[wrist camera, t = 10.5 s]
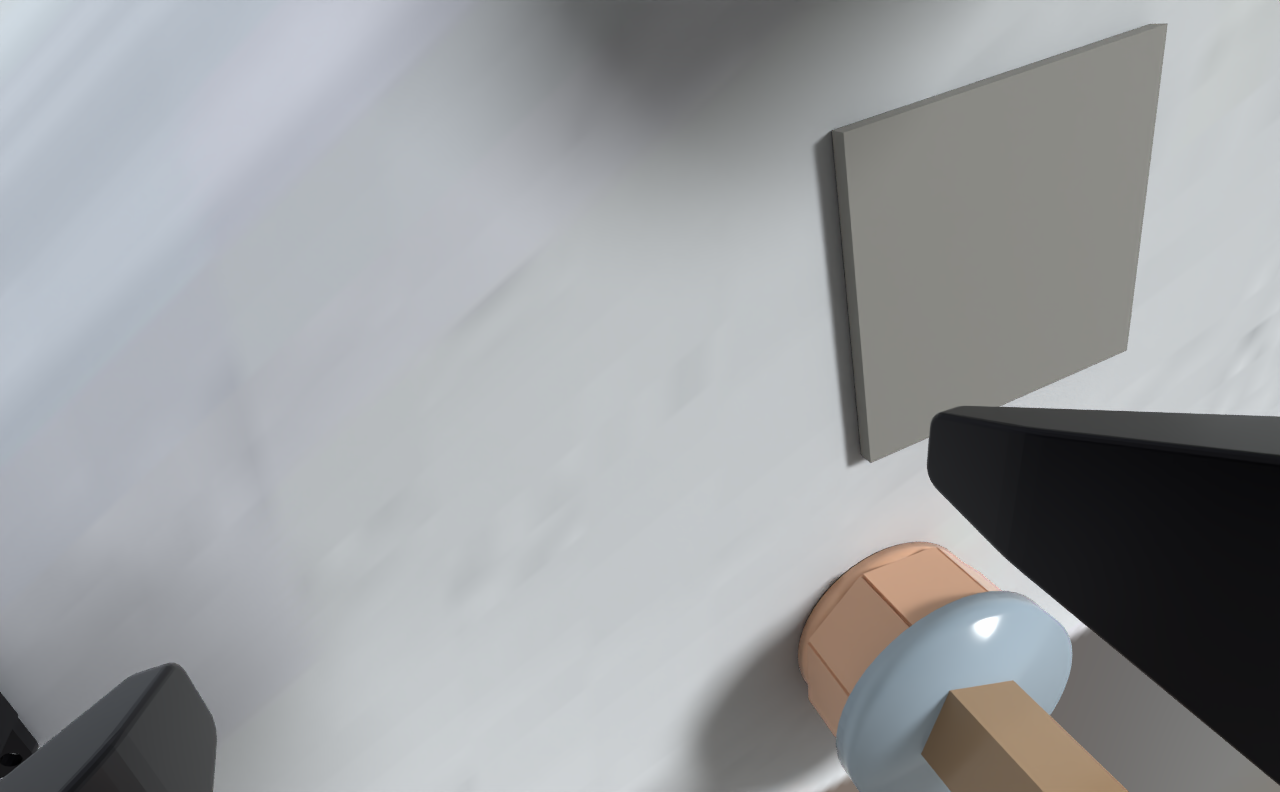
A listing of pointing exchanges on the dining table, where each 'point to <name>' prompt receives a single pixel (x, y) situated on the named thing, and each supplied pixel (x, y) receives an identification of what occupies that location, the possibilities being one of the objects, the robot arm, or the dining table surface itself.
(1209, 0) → the dining table surface
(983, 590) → the bowl
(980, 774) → the tan post on disc
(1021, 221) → the mat
